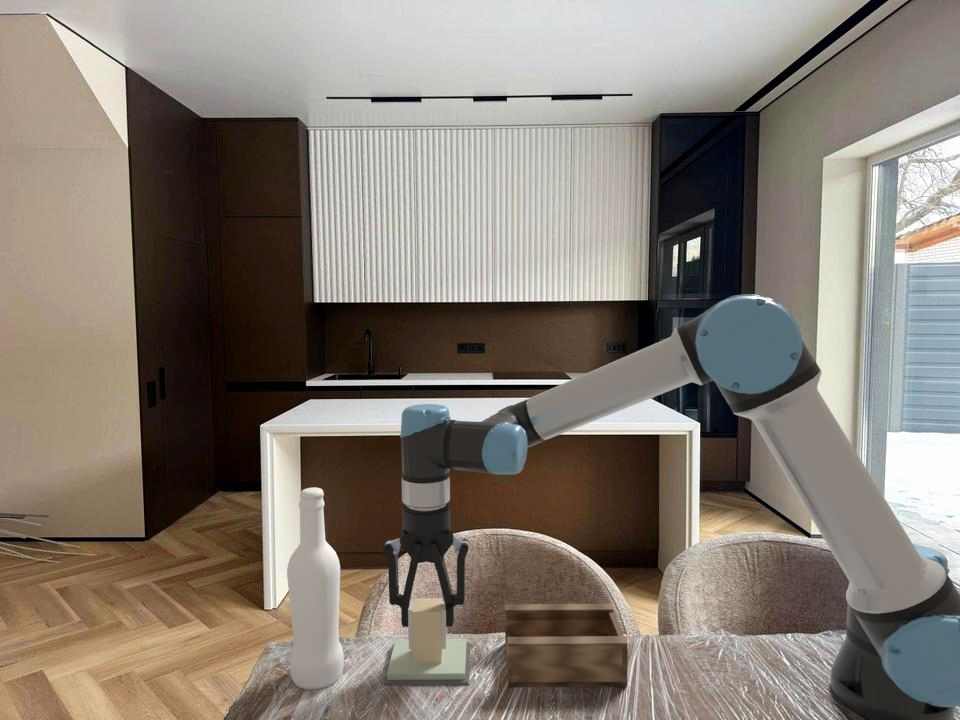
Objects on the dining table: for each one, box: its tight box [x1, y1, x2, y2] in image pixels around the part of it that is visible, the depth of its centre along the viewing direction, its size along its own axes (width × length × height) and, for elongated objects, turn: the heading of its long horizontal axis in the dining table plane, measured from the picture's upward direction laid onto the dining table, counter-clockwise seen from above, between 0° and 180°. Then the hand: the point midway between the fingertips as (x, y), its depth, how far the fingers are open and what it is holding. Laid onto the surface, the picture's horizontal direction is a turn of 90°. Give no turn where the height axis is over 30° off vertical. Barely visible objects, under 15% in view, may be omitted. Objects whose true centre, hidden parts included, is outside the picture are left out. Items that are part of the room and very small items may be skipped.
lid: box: [386, 597, 468, 680], centre depth 102 cm, size 12×10×10 cm
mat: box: [383, 642, 471, 686], centre depth 102 cm, size 13×11×1 cm
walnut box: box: [504, 603, 629, 688], centre depth 102 cm, size 18×12×7 cm
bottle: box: [286, 487, 345, 690], centre depth 98 cm, size 8×8×30 cm
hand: (428, 644), depth 102 cm, fingers closed on lid, 4 cm apart
